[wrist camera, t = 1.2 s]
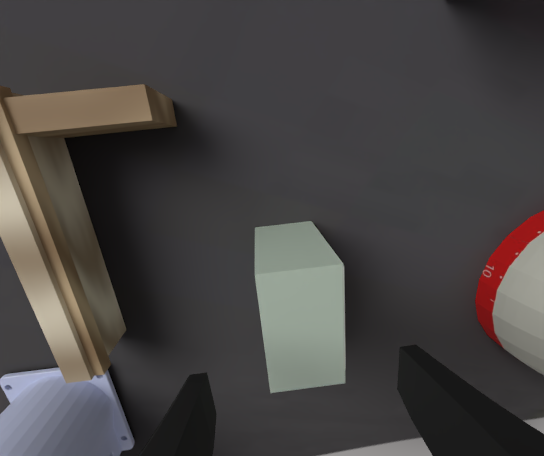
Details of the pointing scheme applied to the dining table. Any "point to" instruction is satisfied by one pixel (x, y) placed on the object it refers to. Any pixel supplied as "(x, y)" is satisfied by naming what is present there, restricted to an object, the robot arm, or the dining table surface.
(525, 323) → the kitchen timer
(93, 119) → the l-shaped wooden block
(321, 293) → the cabinet block
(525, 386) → the dining table surface
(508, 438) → the robot arm
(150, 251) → the dining table surface
